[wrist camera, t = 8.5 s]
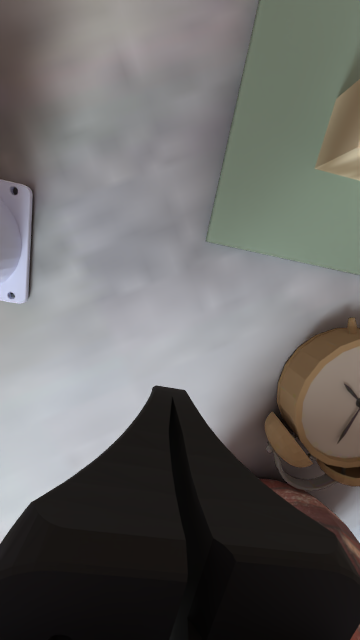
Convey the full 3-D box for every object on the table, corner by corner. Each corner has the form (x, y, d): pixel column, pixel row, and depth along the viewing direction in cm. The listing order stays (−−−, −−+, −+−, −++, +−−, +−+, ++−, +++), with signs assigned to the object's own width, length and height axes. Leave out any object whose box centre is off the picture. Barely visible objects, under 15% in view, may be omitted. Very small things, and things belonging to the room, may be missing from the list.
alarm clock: (461, 366, 20) (372, 532, 21) (399, 350, 25) (329, 486, 26) (347, 307, 18) (255, 493, 19) (304, 303, 23) (232, 451, 24)
